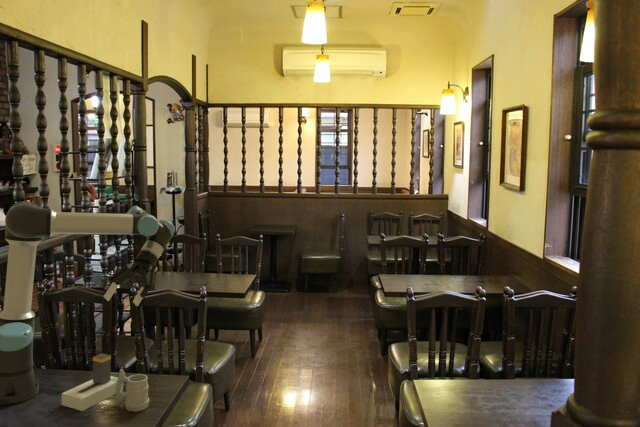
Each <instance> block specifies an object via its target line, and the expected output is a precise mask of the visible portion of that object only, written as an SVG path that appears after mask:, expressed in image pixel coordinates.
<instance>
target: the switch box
mask: <svg viewBox="0 0 640 427" xmlns="http://www.w3.org/2000/svg"><path fill="white" fill-rule="evenodd" d="M117 380H118V376H117V377H116V376H112V375H111V380H110V381H108V382H106V383H104V384H98V383H94V382H93V378H92V379H90V380H88V381H86V382H84V383H82V384H79V385H77V386H74V387H73V388H70V389H69V390H66V391H64V392H61V406H64V407H68V408H71V409H74V410H77V411H81V412H83V411H85V410H87V409H89V408H91V407H93V406H94V405H97V404H99V403H100V402H103V401H104V400H107V399H108V398H110V397H113V396H114V395H115V393H116V392H115V386H116V383H117ZM121 390H122V391H124V388H123V382H122V384H121Z"/></svg>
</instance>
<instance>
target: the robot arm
mask: <svg viewBox="0 0 640 427" xmlns="http://www.w3.org/2000/svg"><path fill="white" fill-rule="evenodd" d="M4 223H5V232H4V233H5V235H4V239H5V241H6V242H7V243H8V244H9V246H8V254H7V255H8V256H7V266H6V275H5V276H6V277H5V278H6V279H5V288H4V300H3V310H1V311H0V405H2V406H3V405H13V404H17V403H22V402H25V401H28V400H30V399H32V398H35V397H36V395H38V394H39V392H40V390H39V388H40V386H39V385H40V384H39V382H38V379H37V376H36V374H35V372H34V351H33V350H34V348H33V347H34V333H35V321H36V320H35V319H36V313H35V312H34V311H33V310H32V303H33V291H34V280H35V269H36V258H37V248H38V245H39V244H40V243H41V242H43V238H52V237H53V236H54V235H142V236H144V237H146V238H147V239H146V241H145V242H144V244H143V245H142V247H141V249H140V251H139V252H138V253H137V255H136V257H135V260H134V262H133V263H131V262H130V261H129V260H128V261H126V263H125V264H124V265H123V266H122V267H121V268H119V270H117V271H116V272H115V273H114V274H112V275H111V276H110V277H109V278H108V280H109V282H111V283H110V284H109V286H108V287H107V290H106V292H105V294H104V295H103V298H104V300H106V301H108V302H109V301H110V300H111V298H112V297H113V295H114V294H115V292H116V290H117V289H118V287H119V285H120V284H121V283H122V282H125V281H126V280H128V279H130V278H131V277H132V278H133V277H135V276H137V277H141V278H142V283H143V286H141V287H140V289H139V291H138V292H137V294H136V295H135V297H134V299H133V300H132V303H133V304H134V305H135V306H136V307H139V305H140V303H141V301H142V300H143V299H144V298H145V297H146V296H147V294H148V292H149V291H151V290H152V291H154V290H156V285H157V284H156V283H157V282H156V281H157V273H158V272H159V268H158V267H157V266H156V264H157V262H158V260H159V258H160V257H161V255H162V254H163V252H164V250H165V248H166V247H167V246H168V244H169V243H170V241H171V239H173V238H172V237H173V236H174V234H175V231H176V227H175V225H174V224H173V223H172V222H170V221H169V220H167V219H160V220H158V219H157V218H156V217H155V216H154V215H152V214H150V213H148V212H146V211H145V210H144V209H143V208H141V207H139V206H138V205H134V206H132V207H131V208H130V209H129V210H128V211H127V212H126V213H110V212H109V213H101V212H100V213H99V212H96V213H95V212H72V211H71V212H69V211H67V212H63V211H62V212H61V211H60V212H59V211H55V210H53V209H52V208H42V207H41V206H40V205H39V204H36V203H34V202H31V201H18V202H17V203H14V204H12V206H10V207H9V209H8V211H7V213H6V215H5V218H4ZM149 274H150V275H149Z"/></svg>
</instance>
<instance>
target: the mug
mask: <svg viewBox="0 0 640 427" xmlns="http://www.w3.org/2000/svg"><path fill="white" fill-rule="evenodd" d="M117 378H118V380H117V383H116V386H115V392H116V393H115V394H114V395H115V397H116V399H117V401H118V402H121V401H122V400H123V399H125V400H124V406H125V409H126V411H129V412H140V411H144V410H146V409H147V408H148V407H149V403H150V397H149V382H148V379H149V377H148V375H146V374H143V373H142V374H141V373H137V374H132V375H129V376H126V372H125V370H124V369H123V368H121V369H119V374H118V376H117ZM123 381H127V386H126V389H125V392H123V390H121V384H122V382H123Z"/></svg>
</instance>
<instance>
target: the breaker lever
mask: <svg viewBox="0 0 640 427" xmlns="http://www.w3.org/2000/svg"><path fill="white" fill-rule="evenodd" d="M111 363H112V355H110V354H107V353H102V352H101V353H100V354H97V355H94V356H93V357H92V379H93V382H94V383H98V384H104V383H106V382H108V381H110V380H111V376H112V375H111V371H112V370H111V368H112V367H111V366H112V364H111Z"/></svg>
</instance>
